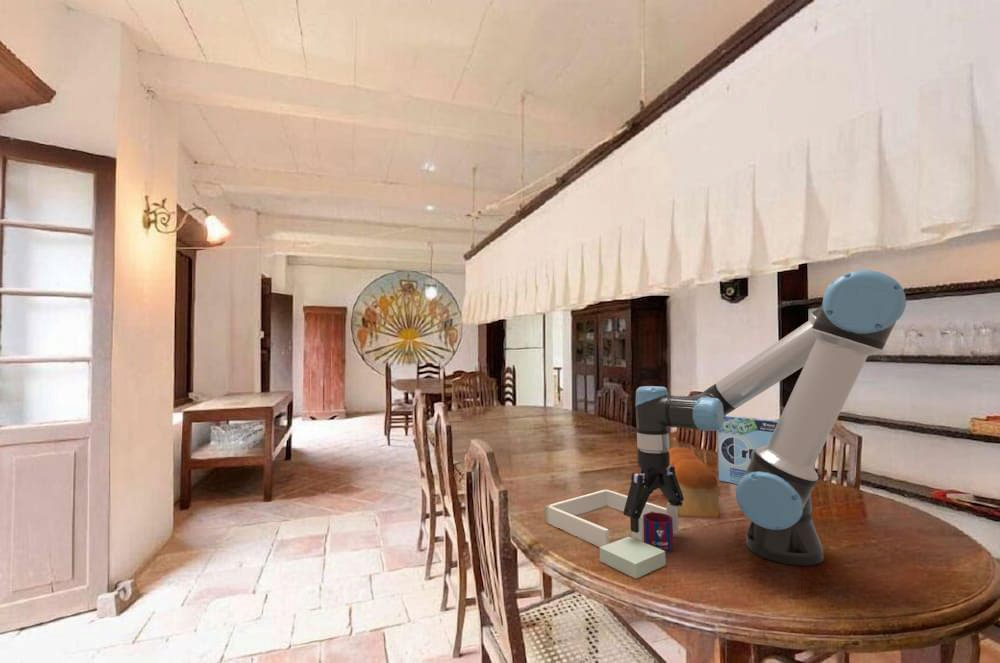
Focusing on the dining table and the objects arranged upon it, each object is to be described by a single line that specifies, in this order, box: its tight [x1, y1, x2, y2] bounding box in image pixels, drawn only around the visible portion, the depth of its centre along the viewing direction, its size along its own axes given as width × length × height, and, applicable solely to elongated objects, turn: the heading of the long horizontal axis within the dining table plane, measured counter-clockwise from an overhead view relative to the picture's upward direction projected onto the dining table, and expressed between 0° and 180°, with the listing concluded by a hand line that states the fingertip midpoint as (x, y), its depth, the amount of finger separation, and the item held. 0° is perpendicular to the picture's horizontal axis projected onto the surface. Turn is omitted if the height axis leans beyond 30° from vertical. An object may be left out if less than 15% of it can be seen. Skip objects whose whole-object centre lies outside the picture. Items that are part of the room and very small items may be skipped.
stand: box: [598, 536, 667, 579], centre depth 101 cm, size 10×10×3 cm
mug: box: [643, 512, 674, 553], centre depth 111 cm, size 7×10×7 cm
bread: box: [664, 446, 721, 519], centre depth 140 cm, size 25×12×15 cm, turn 168°
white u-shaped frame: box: [544, 489, 667, 548], centre depth 124 cm, size 22×24×4 cm
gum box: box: [717, 414, 779, 485], centre depth 156 cm, size 20×5×23 cm, turn 39°
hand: (655, 538), depth 111 cm, fingers open, 13 cm apart
